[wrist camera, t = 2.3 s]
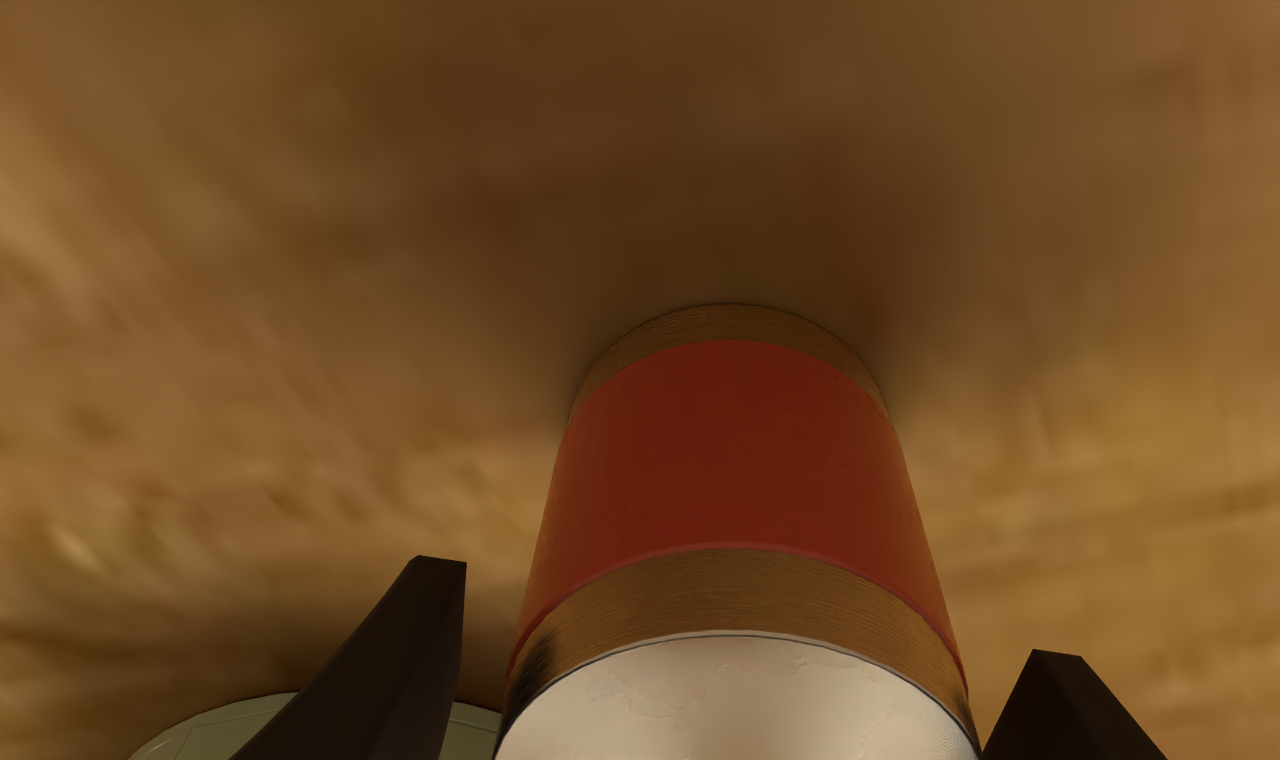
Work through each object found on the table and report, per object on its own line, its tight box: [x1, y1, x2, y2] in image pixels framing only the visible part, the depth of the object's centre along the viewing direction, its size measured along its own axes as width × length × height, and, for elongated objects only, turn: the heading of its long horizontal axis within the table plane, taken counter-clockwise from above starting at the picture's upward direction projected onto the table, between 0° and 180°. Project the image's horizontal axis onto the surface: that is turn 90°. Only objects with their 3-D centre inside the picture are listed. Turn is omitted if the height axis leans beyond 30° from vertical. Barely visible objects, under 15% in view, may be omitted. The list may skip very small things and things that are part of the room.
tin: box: [492, 304, 984, 760], centre depth 14 cm, size 6×6×7 cm
